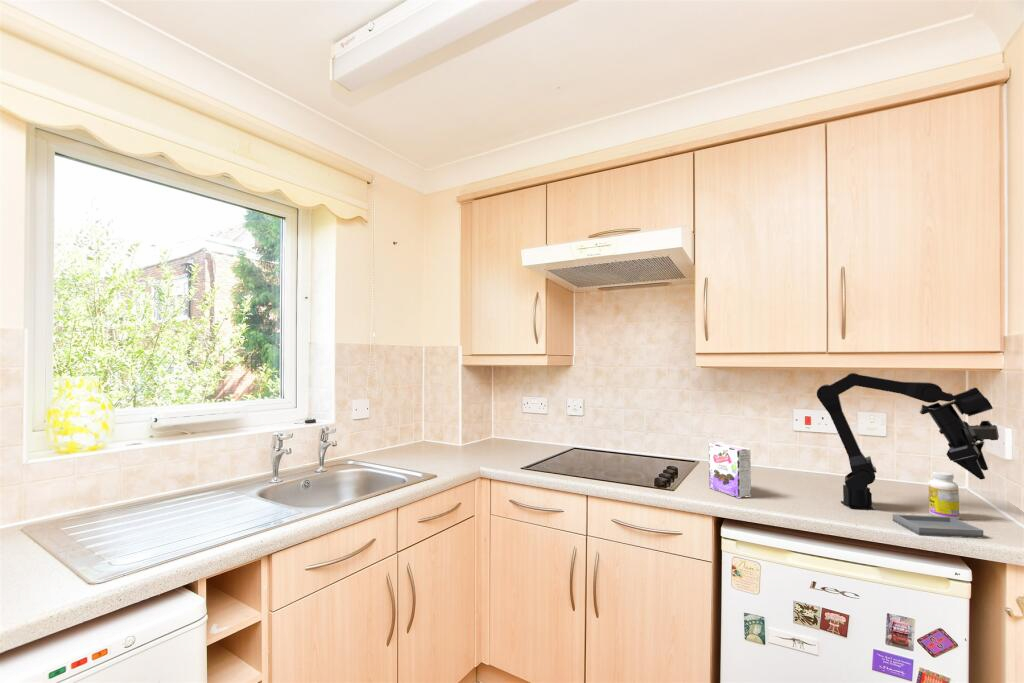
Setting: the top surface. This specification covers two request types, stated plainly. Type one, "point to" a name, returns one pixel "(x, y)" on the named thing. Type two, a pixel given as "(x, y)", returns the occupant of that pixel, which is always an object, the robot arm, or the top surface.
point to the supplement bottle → (943, 495)
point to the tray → (937, 526)
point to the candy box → (730, 469)
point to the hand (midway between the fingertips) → (984, 474)
